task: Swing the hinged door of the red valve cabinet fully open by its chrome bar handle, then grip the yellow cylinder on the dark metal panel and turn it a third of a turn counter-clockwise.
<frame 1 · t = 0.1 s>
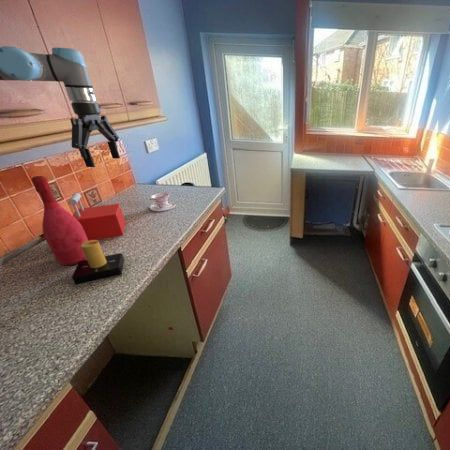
hand: (104, 162, 97), 28 cm above the countertop, tool pointing down, fingers open, 13 cm apart
valve cabinet: (105, 231, 105), on the countertop
wine bottle: (77, 258, 88), on the countertop
yellow cylinder: (94, 253, 79), point 7 cm above the countertop, hinge at 0.0°
cabinet door: (93, 203, 98), point 13 cm above the countertop, hinge at 0.0°
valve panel: (101, 271, 83), on the countertop
teacup: (163, 207, 129), on the countertop
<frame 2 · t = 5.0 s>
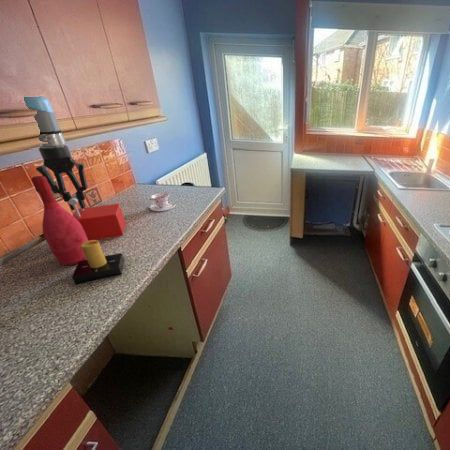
hand: (78, 208, 97), 12 cm above the countertop, tool pointing down, fingers closed on cabinet door, 2 cm apart
cabinet door: (93, 204, 98), point 13 cm above the countertop, hinge at 0.0°, touching gripper
everything else where it was.
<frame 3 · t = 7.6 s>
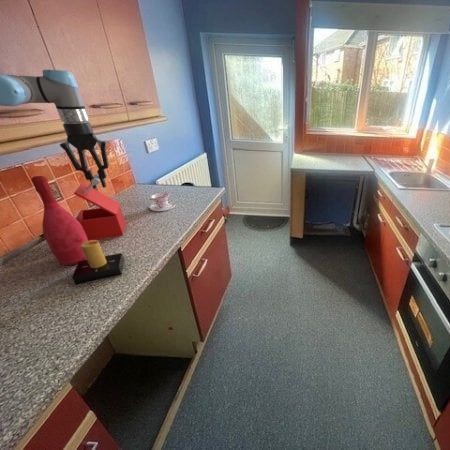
hand: (99, 186, 97), 20 cm above the countertop, tool pointing down, fingers closed on cabinet door, 2 cm apart
cabinet door: (105, 192, 99), point 17 cm above the countertop, hinge at 47.6°, touching gripper
everything else where it was.
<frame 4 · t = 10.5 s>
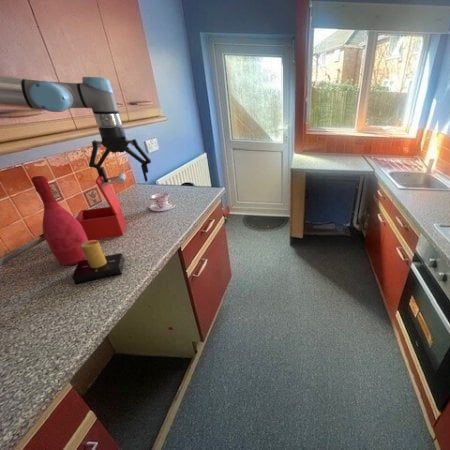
hand: (127, 182, 101), 20 cm above the countertop, tool pointing down, fingers open, 13 cm apart
cabinet door: (119, 191, 101), point 17 cm above the countertop, hinge at 80.8°
everything else where it was.
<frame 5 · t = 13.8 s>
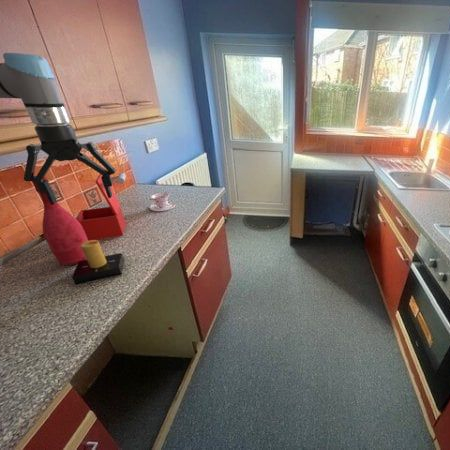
hand: (83, 199, 75), 24 cm above the countertop, tool pointing down, fingers open, 13 cm apart
nothing on the countertop moved.
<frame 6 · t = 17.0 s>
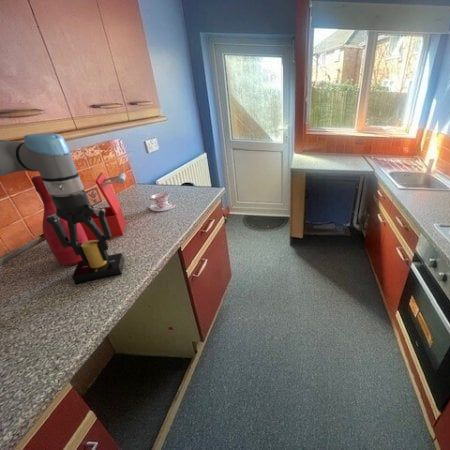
hand: (96, 260, 80), 5 cm above the countertop, tool pointing down, fingers closed on yellow cylinder, 4 cm apart
yellow cylinder: (94, 253, 79), point 7 cm above the countertop, hinge at 0.0°, touching gripper
everything else where it was.
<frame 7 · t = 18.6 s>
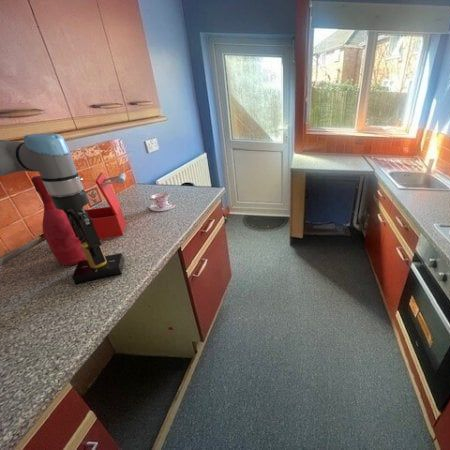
hand: (96, 260, 80), 5 cm above the countertop, tool pointing down, fingers closed on yellow cylinder, 4 cm apart
yellow cylinder: (94, 253, 79), point 7 cm above the countertop, hinge at 119.9°, touching gripper
everything else where it was.
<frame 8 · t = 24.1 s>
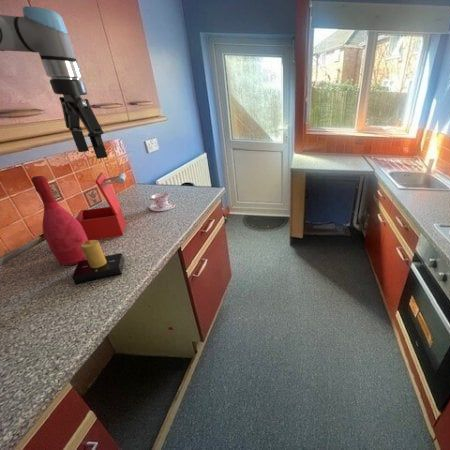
hand: (92, 154, 81), 35 cm above the countertop, tool pointing down, fingers open, 13 cm apart
yellow cylinder: (94, 253, 79), point 7 cm above the countertop, hinge at 119.6°
everything else where it was.
at the end: cabinet door at +81° (first picture: +0°); yellow cylinder at +120° (first picture: +0°) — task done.
